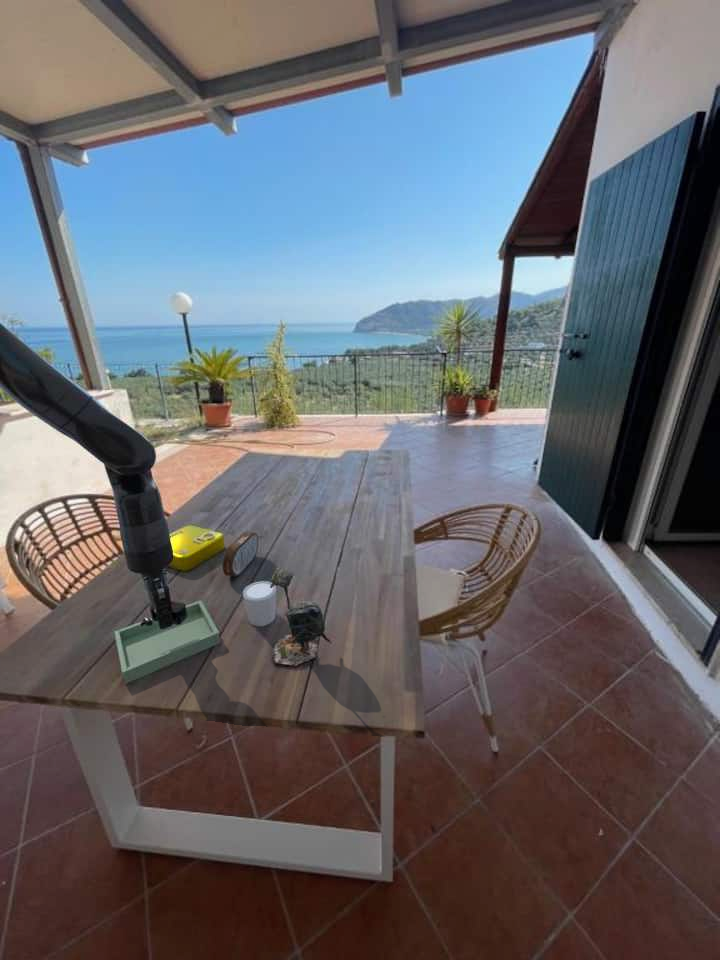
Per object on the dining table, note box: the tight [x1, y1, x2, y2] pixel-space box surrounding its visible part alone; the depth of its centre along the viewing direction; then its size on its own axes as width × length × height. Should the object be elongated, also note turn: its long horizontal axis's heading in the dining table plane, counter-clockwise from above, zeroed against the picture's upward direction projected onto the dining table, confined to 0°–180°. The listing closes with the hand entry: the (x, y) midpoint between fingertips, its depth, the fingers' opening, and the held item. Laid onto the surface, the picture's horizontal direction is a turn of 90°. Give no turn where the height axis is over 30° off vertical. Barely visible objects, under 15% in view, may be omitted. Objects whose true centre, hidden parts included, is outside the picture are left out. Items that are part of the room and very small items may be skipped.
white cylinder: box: [242, 580, 277, 627], centre depth 83 cm, size 7×7×7 cm
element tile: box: [167, 524, 226, 572], centre depth 109 cm, size 15×15×5 cm
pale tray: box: [114, 600, 221, 685], centre depth 77 cm, size 17×13×3 cm
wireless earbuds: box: [140, 600, 187, 626], centre depth 74 cm, size 5×7×3 cm, turn 77°
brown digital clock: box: [222, 530, 259, 577], centre depth 102 cm, size 15×3×8 cm, turn 168°
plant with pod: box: [270, 566, 332, 667], centre depth 71 cm, size 8×11×20 cm
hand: (163, 617), depth 75 cm, fingers closed on wireless earbuds, 5 cm apart
